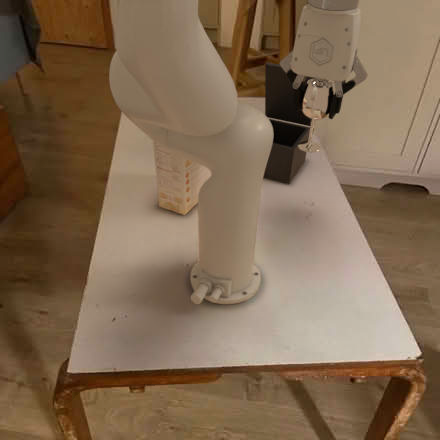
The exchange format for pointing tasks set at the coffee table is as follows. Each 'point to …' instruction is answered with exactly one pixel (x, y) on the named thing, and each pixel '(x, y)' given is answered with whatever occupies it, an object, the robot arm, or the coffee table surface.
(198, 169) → the coffeecake box
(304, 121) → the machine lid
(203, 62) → the robot arm
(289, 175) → the trash bin
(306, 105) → the wineglass
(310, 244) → the coffee table surface
